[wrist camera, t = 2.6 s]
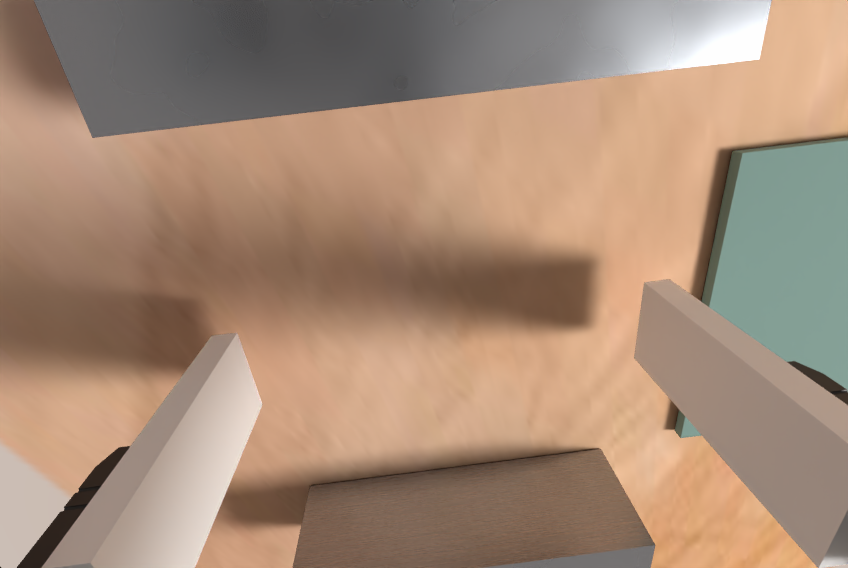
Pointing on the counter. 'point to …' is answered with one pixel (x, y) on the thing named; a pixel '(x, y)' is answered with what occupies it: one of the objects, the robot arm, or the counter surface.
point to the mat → (785, 255)
